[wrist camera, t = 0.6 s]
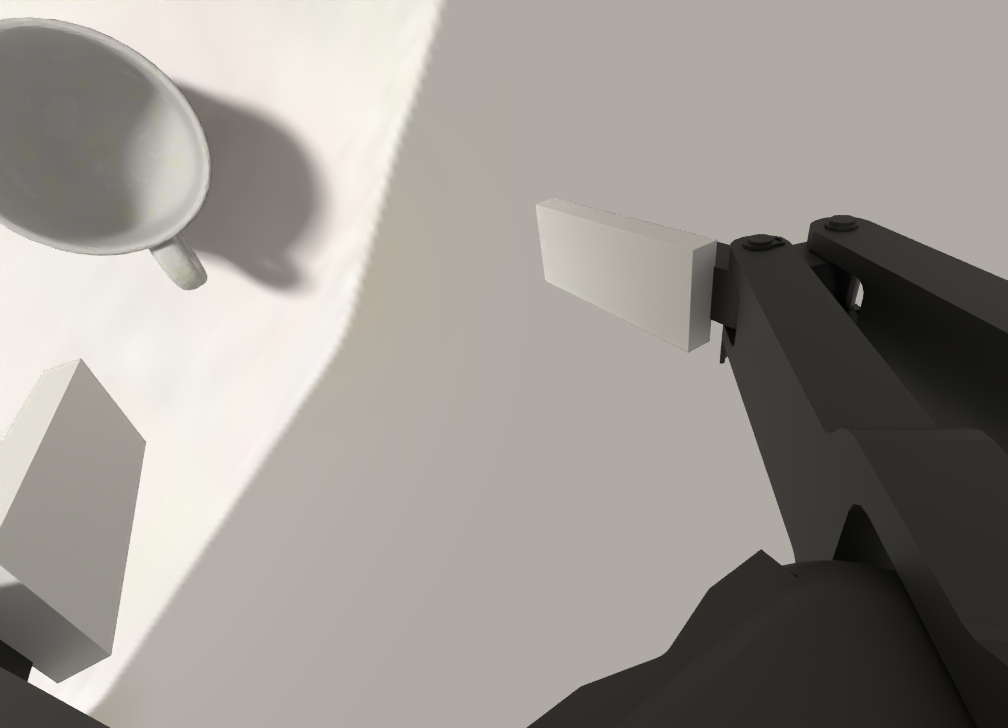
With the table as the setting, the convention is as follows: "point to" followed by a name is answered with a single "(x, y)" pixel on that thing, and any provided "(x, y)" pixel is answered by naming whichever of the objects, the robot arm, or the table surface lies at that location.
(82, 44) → the teacup
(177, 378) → the table surface
